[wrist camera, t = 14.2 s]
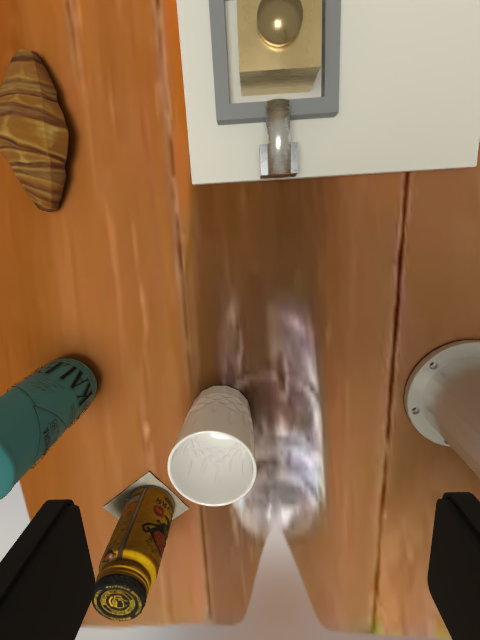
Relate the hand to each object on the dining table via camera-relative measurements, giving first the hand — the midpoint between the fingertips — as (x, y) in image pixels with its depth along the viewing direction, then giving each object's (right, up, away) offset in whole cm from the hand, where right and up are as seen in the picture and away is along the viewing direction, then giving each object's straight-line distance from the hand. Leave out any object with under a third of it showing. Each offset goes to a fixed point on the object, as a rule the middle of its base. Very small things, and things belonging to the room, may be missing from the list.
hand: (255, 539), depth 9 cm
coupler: (+3, +29, +20) cm, 35 cm away
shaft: (+3, +22, +23) cm, 32 cm away
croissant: (-19, +23, +24) cm, 39 cm away
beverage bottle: (-19, -1, +30) cm, 36 cm away
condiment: (-12, -18, +35) cm, 42 cm away
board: (+8, +29, +21) cm, 37 cm away
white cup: (-3, -5, +31) cm, 31 cm away
